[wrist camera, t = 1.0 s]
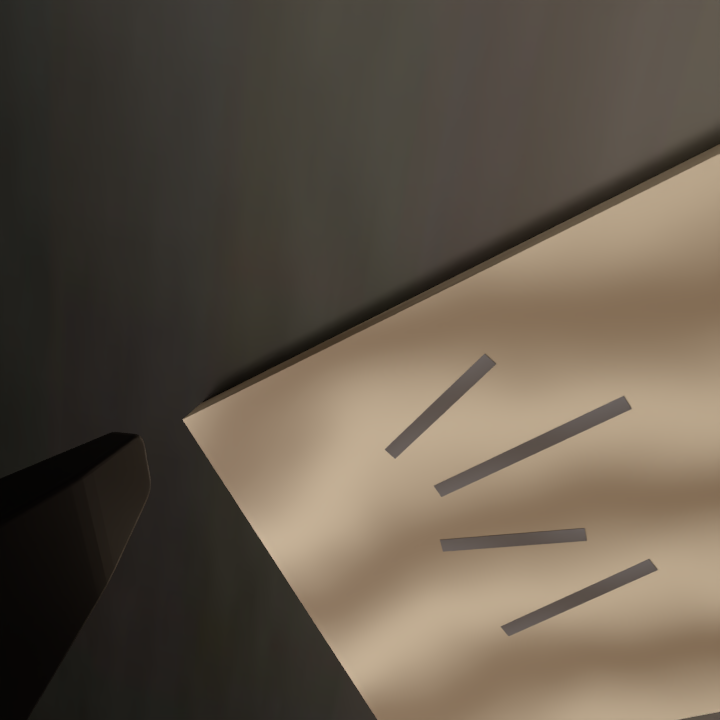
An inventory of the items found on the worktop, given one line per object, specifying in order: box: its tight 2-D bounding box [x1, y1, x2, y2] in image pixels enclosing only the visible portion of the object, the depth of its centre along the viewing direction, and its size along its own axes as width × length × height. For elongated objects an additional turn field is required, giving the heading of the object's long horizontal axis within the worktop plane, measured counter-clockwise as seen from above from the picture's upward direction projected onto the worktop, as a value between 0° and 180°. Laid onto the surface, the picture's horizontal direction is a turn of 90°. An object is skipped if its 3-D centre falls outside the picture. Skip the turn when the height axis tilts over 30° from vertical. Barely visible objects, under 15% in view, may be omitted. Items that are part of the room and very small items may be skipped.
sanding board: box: [183, 144, 720, 720], centre depth 23 cm, size 18×20×2 cm
